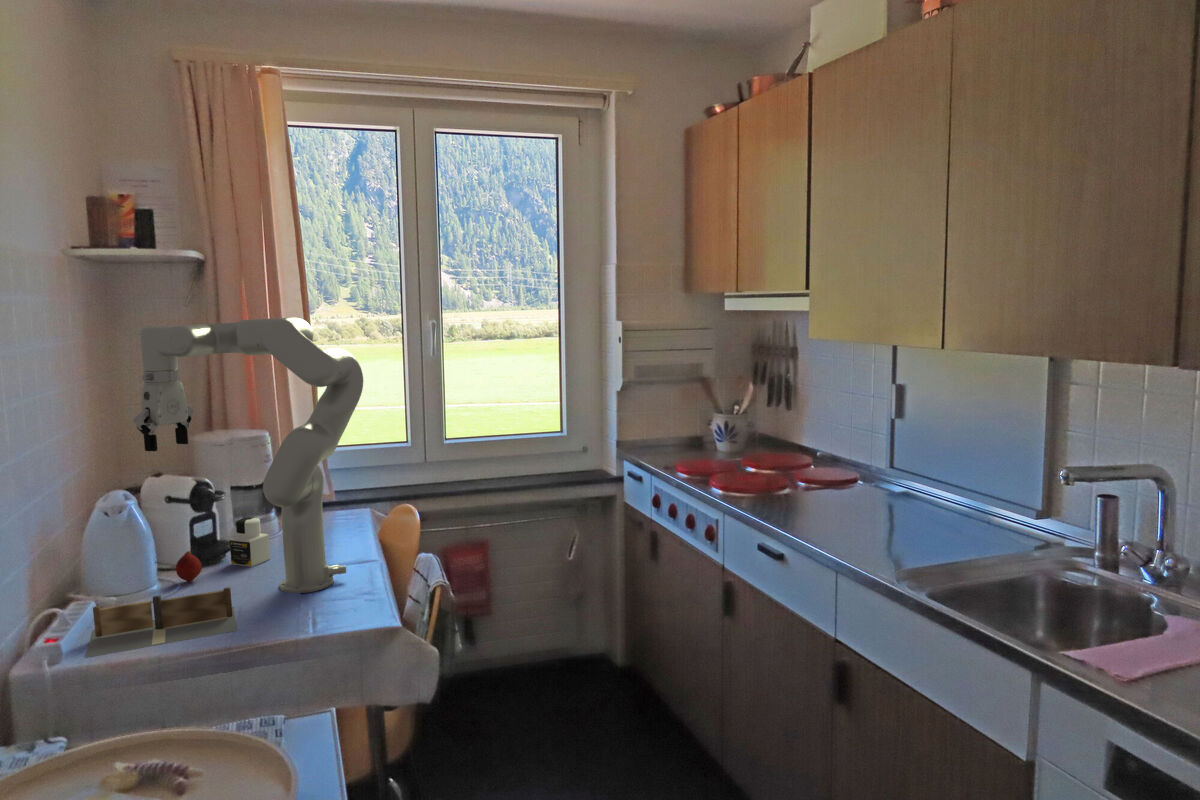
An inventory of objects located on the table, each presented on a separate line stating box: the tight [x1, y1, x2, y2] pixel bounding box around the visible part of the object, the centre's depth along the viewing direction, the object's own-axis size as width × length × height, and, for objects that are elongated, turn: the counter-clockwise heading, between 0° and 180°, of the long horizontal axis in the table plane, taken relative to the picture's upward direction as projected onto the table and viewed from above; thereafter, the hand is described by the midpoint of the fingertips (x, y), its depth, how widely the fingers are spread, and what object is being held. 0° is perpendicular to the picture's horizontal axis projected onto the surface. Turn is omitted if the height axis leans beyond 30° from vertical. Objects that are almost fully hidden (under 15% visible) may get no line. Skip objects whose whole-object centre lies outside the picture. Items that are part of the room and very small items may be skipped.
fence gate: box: [92, 600, 154, 637], centre depth 179 cm, size 11×1×6 cm, turn 116°
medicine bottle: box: [229, 516, 271, 568], centre depth 228 cm, size 7×7×12 cm
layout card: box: [84, 606, 238, 659], centre depth 181 cm, size 28×16×1 cm, turn 116°
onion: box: [175, 550, 202, 583], centre depth 213 cm, size 6×6×8 cm
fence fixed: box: [152, 586, 233, 629], centre depth 185 cm, size 15×2×7 cm, turn 116°
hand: (167, 447), depth 207 cm, fingers open, 9 cm apart
